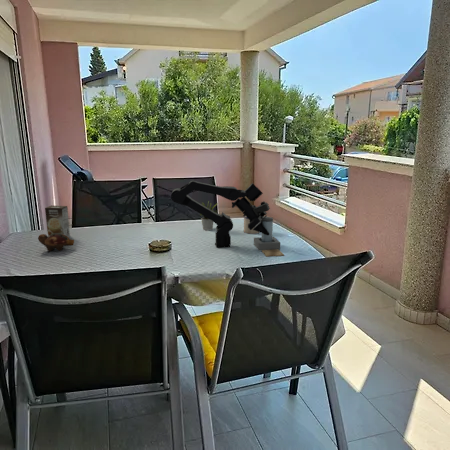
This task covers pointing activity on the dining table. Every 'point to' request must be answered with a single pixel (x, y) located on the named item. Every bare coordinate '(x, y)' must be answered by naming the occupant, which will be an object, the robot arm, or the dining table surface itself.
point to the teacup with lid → (246, 229)
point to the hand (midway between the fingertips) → (270, 233)
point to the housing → (266, 244)
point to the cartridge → (269, 226)
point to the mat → (272, 252)
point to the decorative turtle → (55, 241)
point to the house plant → (207, 220)
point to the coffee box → (57, 220)
